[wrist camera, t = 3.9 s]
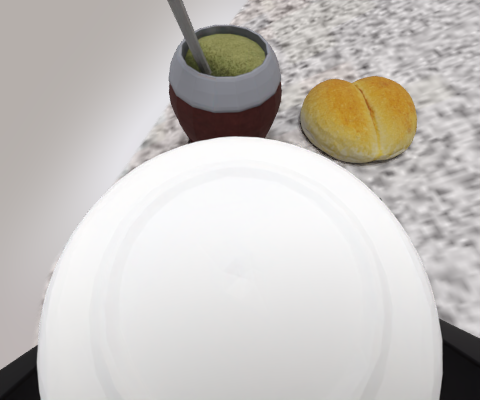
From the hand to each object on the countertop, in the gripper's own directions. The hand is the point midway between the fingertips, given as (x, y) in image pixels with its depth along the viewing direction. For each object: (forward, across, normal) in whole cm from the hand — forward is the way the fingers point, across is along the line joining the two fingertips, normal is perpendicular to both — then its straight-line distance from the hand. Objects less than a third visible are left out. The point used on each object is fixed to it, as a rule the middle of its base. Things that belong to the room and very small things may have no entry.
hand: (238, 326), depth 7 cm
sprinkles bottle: (+6, 0, +6) cm, 8 cm away
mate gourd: (+15, 0, -3) cm, 16 cm away
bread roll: (+17, -11, -5) cm, 21 cm away
